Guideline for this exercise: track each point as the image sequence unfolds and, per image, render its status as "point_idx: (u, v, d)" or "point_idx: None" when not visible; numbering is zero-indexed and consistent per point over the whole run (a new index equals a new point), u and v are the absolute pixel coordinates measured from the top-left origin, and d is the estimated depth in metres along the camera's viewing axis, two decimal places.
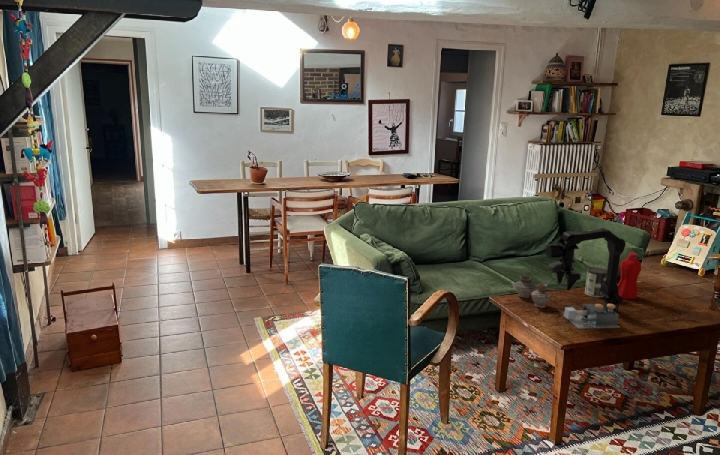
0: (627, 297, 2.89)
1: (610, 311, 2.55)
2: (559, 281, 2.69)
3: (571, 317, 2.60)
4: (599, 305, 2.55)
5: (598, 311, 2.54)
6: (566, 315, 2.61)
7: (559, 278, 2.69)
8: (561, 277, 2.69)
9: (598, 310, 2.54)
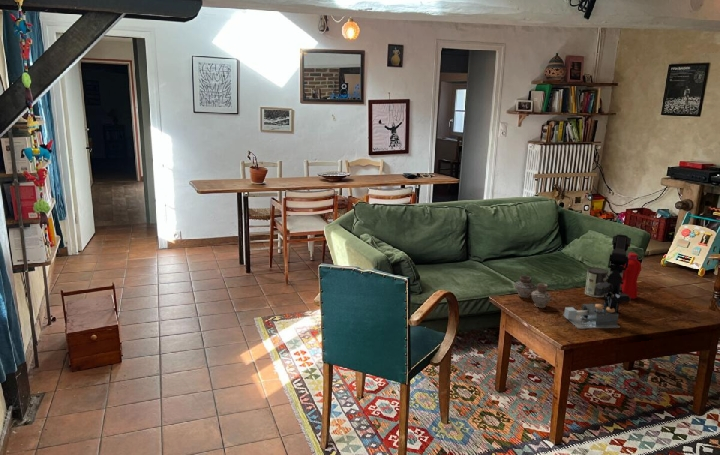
0: None
1: None
2: None
3: (571, 317, 2.60)
4: (599, 305, 2.55)
5: (598, 311, 2.54)
6: (566, 315, 2.61)
7: None
8: None
9: (598, 310, 2.54)
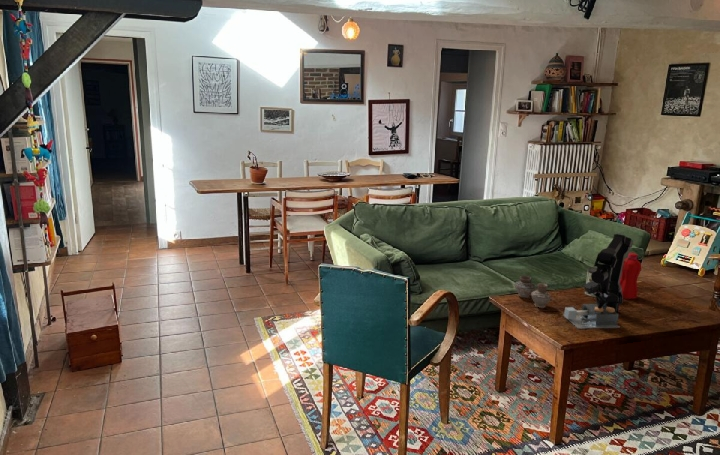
0: (627, 297, 2.89)
1: None
2: None
3: (571, 317, 2.60)
4: None
5: None
6: (566, 315, 2.61)
7: None
8: None
9: None
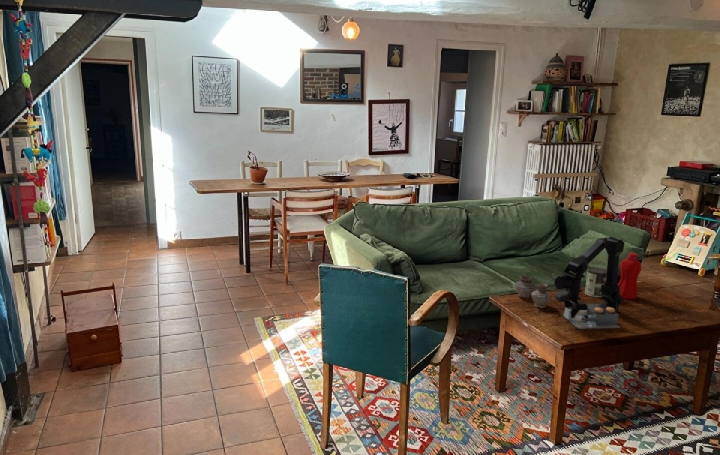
0: (627, 297, 2.89)
1: None
2: None
3: None
4: (598, 309, 2.55)
5: None
6: (566, 315, 2.61)
7: None
8: None
9: None
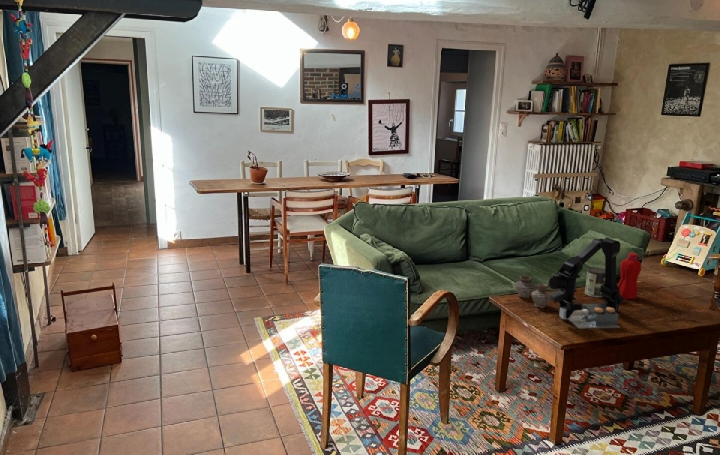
0: (627, 297, 2.89)
1: None
2: None
3: None
4: (598, 309, 2.55)
5: None
6: (561, 315, 2.61)
7: None
8: None
9: None
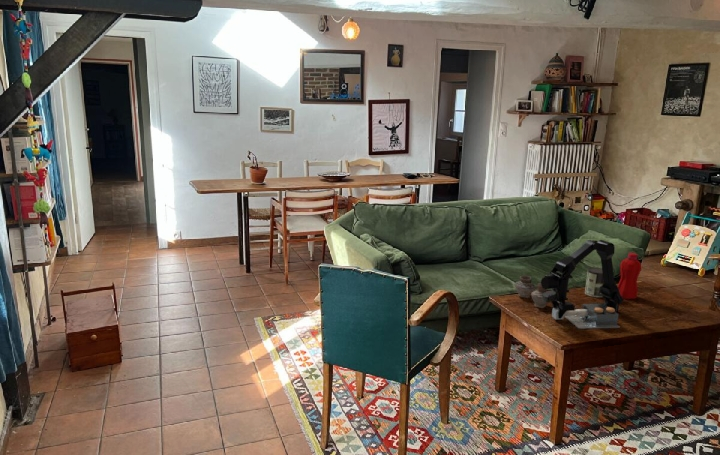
0: (627, 297, 2.89)
1: None
2: None
3: None
4: (598, 309, 2.55)
5: None
6: (553, 315, 2.61)
7: None
8: None
9: None
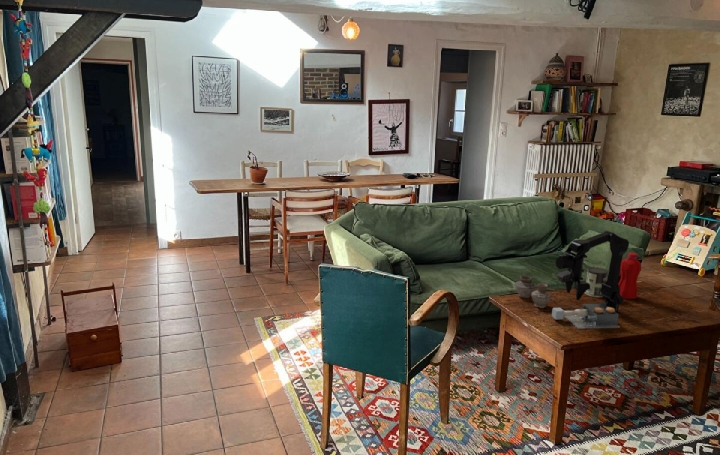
0: (627, 297, 2.89)
1: None
2: (568, 290, 2.66)
3: (558, 317, 2.59)
4: (598, 309, 2.55)
5: None
6: (553, 315, 2.61)
7: (568, 287, 2.65)
8: (570, 286, 2.65)
9: None
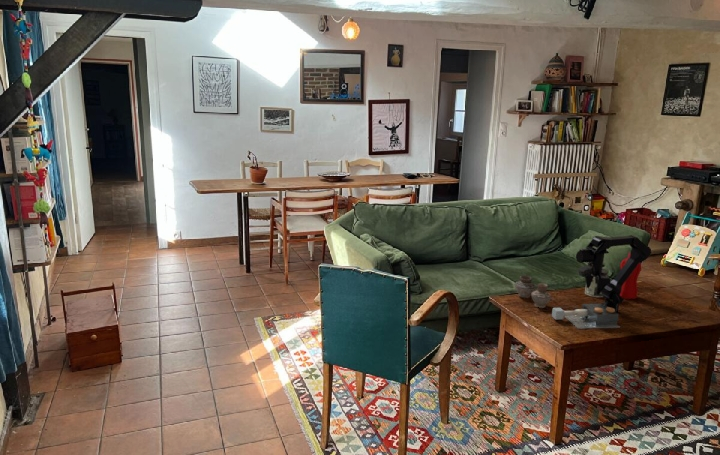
0: (627, 297, 2.89)
1: None
2: (588, 285, 2.71)
3: (558, 317, 2.59)
4: (598, 309, 2.55)
5: None
6: (553, 315, 2.61)
7: (588, 282, 2.71)
8: (590, 281, 2.71)
9: None
